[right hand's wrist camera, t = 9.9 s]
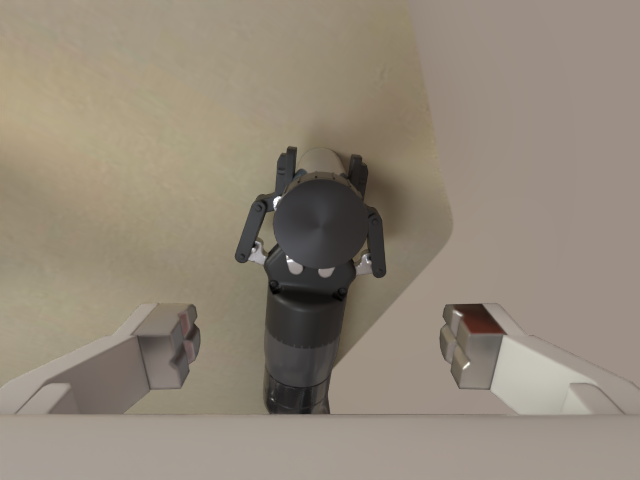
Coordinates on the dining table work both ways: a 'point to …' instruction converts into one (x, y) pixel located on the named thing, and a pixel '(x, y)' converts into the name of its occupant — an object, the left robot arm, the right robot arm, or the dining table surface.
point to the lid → (320, 220)
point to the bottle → (320, 163)
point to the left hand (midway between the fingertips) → (324, 152)
